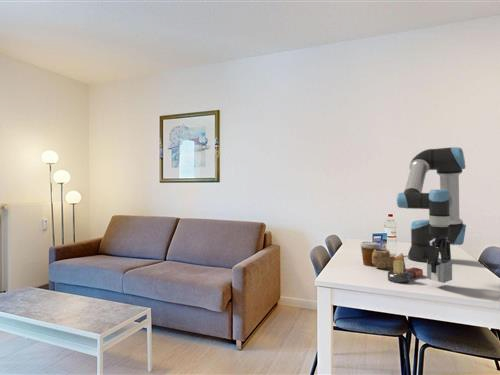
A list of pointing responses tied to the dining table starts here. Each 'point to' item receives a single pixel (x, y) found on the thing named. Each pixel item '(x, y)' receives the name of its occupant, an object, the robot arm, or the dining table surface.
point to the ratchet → (403, 273)
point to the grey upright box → (442, 270)
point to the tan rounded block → (385, 259)
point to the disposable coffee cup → (368, 252)
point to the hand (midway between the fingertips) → (439, 278)
